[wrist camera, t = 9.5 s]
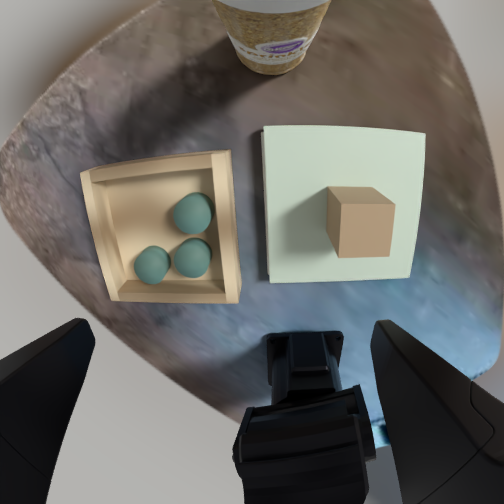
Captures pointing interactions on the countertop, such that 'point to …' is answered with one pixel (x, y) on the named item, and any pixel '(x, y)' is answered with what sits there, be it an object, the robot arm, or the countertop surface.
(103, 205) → the box
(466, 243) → the countertop surface
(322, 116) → the countertop surface
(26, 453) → the robot arm
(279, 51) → the sprinkles bottle
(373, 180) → the lid
